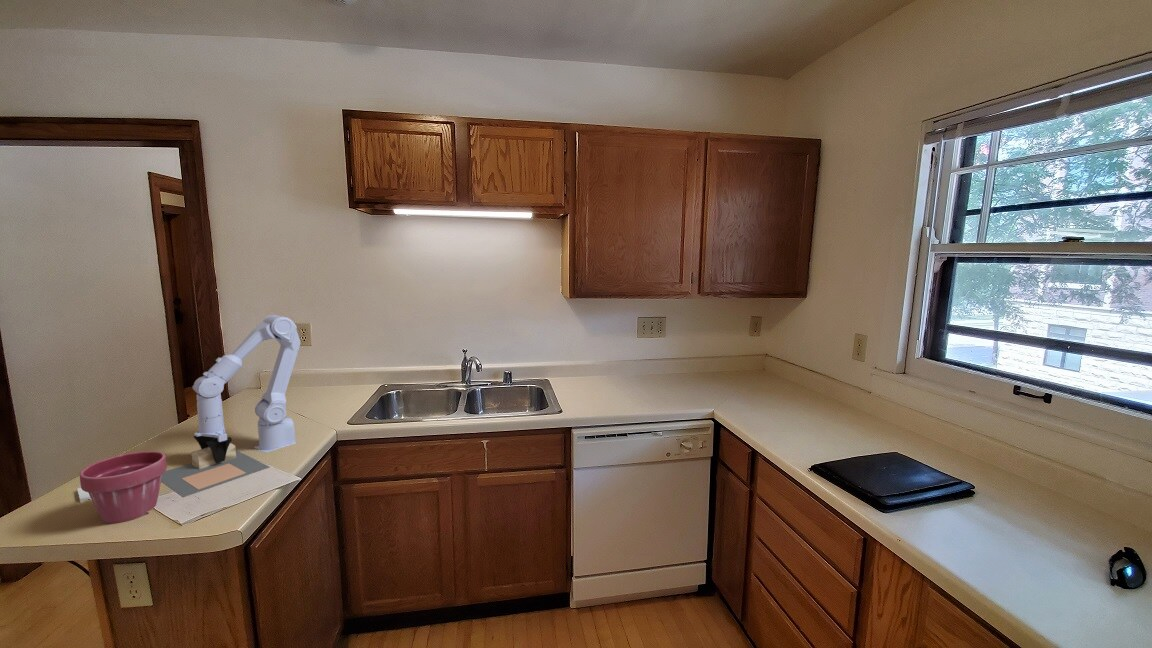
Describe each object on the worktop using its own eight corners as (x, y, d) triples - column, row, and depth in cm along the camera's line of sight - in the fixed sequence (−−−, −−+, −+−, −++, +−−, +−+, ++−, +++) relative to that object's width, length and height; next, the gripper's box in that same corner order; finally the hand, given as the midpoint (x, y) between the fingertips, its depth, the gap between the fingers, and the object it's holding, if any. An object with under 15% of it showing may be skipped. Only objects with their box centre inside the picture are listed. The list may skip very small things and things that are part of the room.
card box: (228, 453, 134) (227, 441, 134) (236, 457, 132) (235, 445, 131) (192, 464, 126) (191, 452, 126) (199, 469, 124) (198, 456, 123)
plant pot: (149, 524, 98) (143, 472, 97) (68, 535, 94) (60, 481, 92) (182, 493, 112) (177, 447, 110) (112, 502, 107) (106, 454, 105)
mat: (236, 451, 137) (236, 449, 137) (270, 468, 126) (270, 466, 126) (152, 477, 120) (151, 474, 120) (183, 499, 109) (183, 496, 109)
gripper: (183, 414, 127) (187, 457, 129) (204, 424, 120) (208, 469, 122) (212, 408, 133) (216, 449, 135) (234, 417, 126) (237, 460, 128)
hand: (214, 458), depth 129 cm, fingers open, 7 cm apart
